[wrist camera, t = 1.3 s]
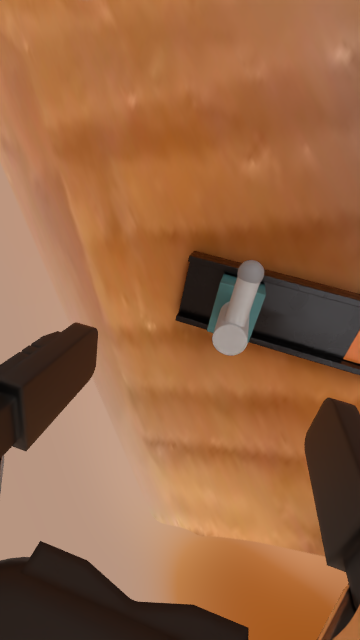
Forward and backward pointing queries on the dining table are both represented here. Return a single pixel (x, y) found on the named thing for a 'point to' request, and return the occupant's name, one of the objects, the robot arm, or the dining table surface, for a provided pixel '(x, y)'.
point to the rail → (283, 313)
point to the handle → (237, 308)
